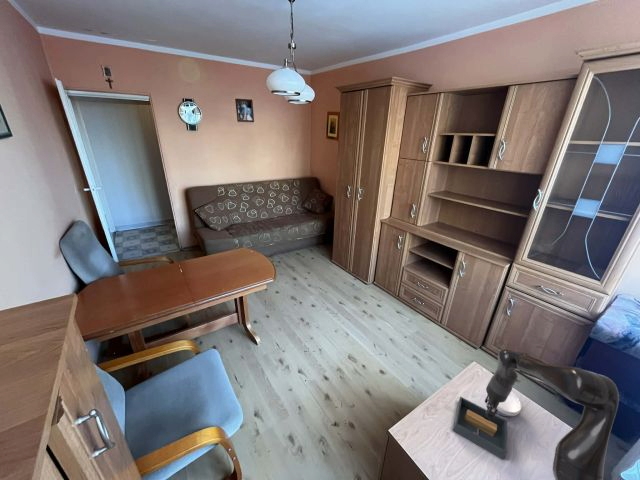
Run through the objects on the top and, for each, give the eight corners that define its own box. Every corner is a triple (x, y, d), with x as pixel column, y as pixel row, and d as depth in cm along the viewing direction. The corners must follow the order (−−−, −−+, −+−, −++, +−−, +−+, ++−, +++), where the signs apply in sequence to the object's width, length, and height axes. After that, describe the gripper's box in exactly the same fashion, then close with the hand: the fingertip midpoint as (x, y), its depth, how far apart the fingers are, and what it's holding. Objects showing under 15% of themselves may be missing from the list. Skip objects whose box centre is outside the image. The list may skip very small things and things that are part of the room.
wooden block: (492, 444, 116) (496, 438, 114) (462, 428, 122) (466, 421, 119) (493, 431, 121) (497, 424, 119) (464, 415, 127) (467, 409, 125)
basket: (501, 460, 111) (506, 453, 109) (452, 431, 121) (455, 424, 118) (502, 427, 123) (506, 420, 121) (457, 403, 132) (460, 396, 130)
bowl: (485, 387, 141) (490, 378, 138) (517, 406, 133) (523, 397, 129) (479, 407, 131) (484, 398, 128) (513, 429, 123) (519, 419, 119)
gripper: (510, 406, 103) (495, 430, 111) (509, 379, 114) (496, 402, 121) (488, 395, 107) (475, 419, 114) (490, 370, 118) (478, 393, 125)
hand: (486, 410), depth 118 cm, fingers open, 8 cm apart
